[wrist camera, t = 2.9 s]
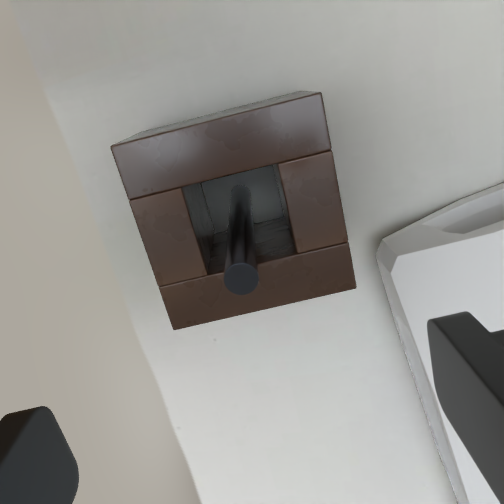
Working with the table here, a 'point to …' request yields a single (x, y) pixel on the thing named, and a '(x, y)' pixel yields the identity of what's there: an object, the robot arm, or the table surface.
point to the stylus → (241, 244)
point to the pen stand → (266, 233)
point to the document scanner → (447, 304)
